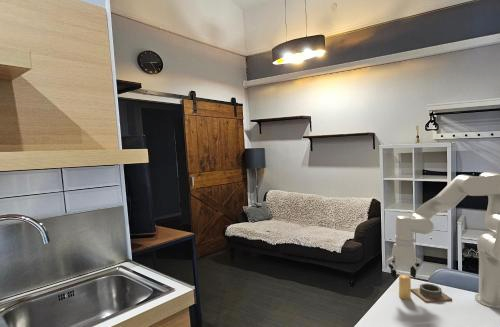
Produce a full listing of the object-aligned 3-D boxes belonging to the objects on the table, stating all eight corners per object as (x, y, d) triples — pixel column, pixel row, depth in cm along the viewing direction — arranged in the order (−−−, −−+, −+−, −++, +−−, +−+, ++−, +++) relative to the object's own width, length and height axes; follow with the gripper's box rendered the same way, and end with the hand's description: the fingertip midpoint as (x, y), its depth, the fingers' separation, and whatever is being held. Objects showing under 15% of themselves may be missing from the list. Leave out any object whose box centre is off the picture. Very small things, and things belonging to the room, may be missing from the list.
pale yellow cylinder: (406, 294, 152) (406, 274, 151) (412, 299, 147) (412, 278, 146) (397, 295, 152) (396, 275, 151) (402, 300, 147) (402, 279, 146)
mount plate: (434, 288, 157) (434, 281, 157) (452, 300, 145) (452, 292, 145) (410, 290, 156) (410, 283, 156) (425, 302, 144) (425, 294, 144)
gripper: (416, 239, 152) (415, 272, 153) (382, 240, 151) (382, 274, 152) (426, 243, 145) (425, 279, 146) (390, 245, 143) (390, 281, 144)
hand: (403, 276), depth 149 cm, fingers open, 9 cm apart
